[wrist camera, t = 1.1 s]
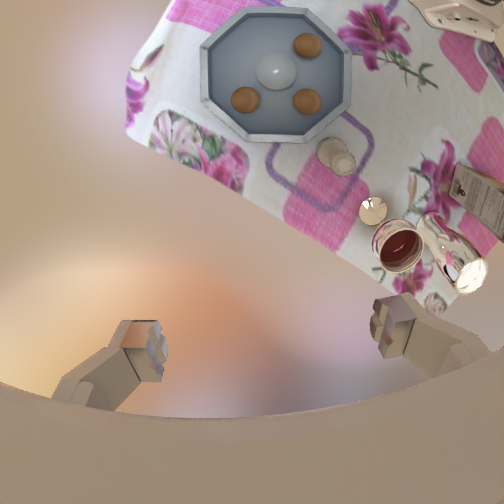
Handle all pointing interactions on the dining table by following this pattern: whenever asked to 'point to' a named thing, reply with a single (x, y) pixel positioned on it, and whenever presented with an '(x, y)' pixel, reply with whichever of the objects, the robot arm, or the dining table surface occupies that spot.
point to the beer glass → (453, 254)
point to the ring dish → (274, 105)
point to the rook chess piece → (336, 156)
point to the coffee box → (480, 197)
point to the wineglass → (392, 237)
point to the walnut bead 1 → (245, 99)
